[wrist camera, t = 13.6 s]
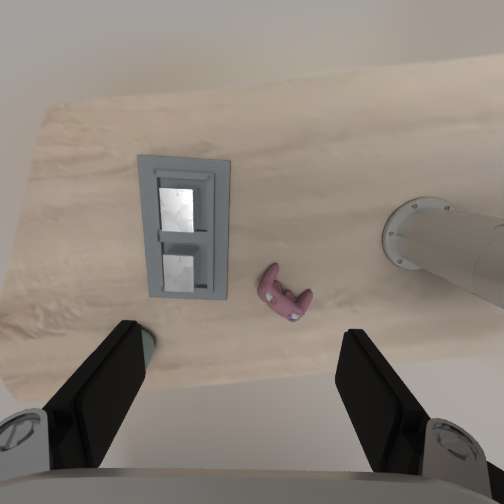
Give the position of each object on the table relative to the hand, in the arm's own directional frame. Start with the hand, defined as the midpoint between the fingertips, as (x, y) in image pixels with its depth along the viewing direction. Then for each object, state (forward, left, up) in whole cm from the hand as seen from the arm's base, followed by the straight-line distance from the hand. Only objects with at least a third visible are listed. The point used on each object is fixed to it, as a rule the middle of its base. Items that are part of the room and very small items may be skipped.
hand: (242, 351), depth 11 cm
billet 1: (+10, -3, -29) cm, 31 cm away
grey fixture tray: (+10, +2, -30) cm, 32 cm away
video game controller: (-8, +11, -31) cm, 34 cm away
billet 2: (+10, +7, -29) cm, 32 cm away
